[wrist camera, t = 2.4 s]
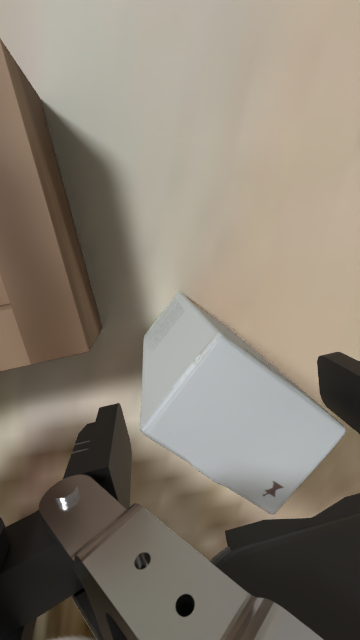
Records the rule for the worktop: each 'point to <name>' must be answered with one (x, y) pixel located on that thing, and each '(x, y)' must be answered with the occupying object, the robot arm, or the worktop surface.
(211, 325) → the skincare box
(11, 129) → the holder
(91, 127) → the worktop surface
